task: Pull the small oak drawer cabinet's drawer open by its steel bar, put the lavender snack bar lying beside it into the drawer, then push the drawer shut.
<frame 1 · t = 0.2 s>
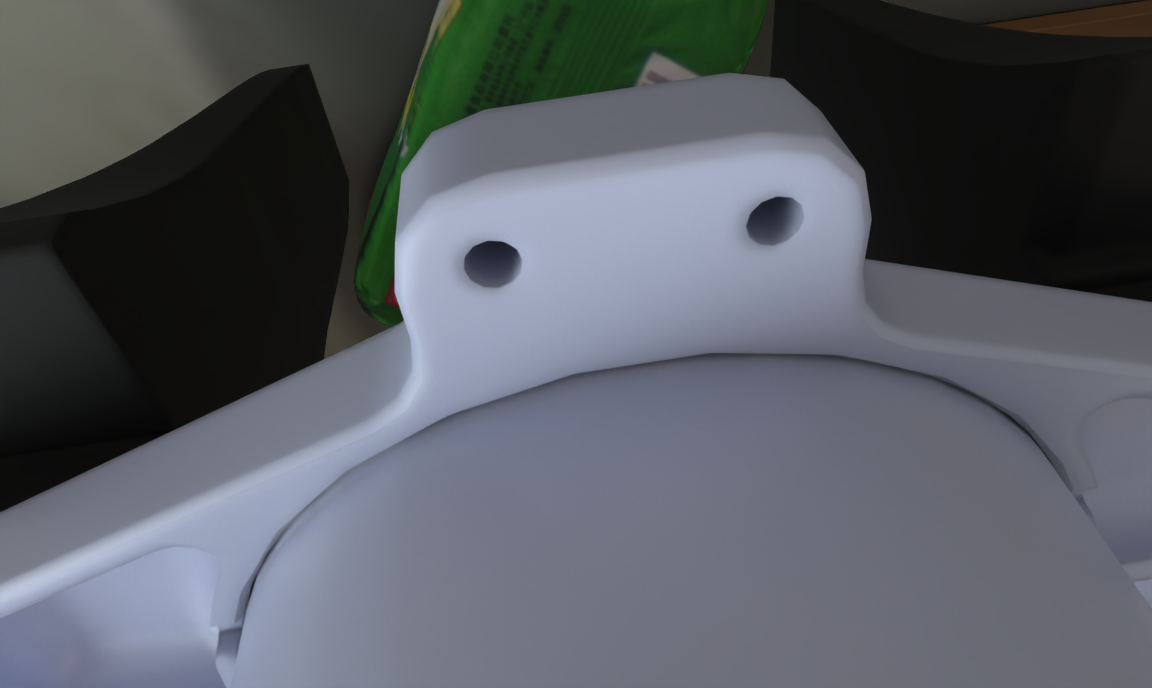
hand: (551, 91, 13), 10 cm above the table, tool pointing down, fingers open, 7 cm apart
snack package: (530, 84, 23), on the table
cabinet: (978, 237, 29), on the table
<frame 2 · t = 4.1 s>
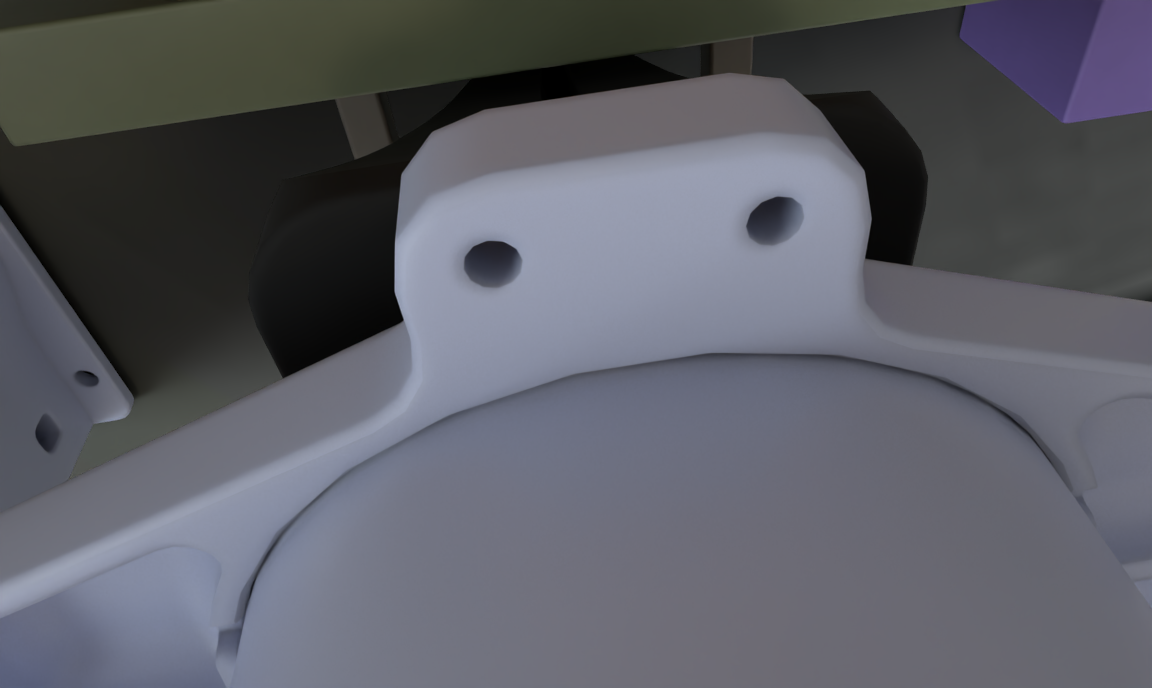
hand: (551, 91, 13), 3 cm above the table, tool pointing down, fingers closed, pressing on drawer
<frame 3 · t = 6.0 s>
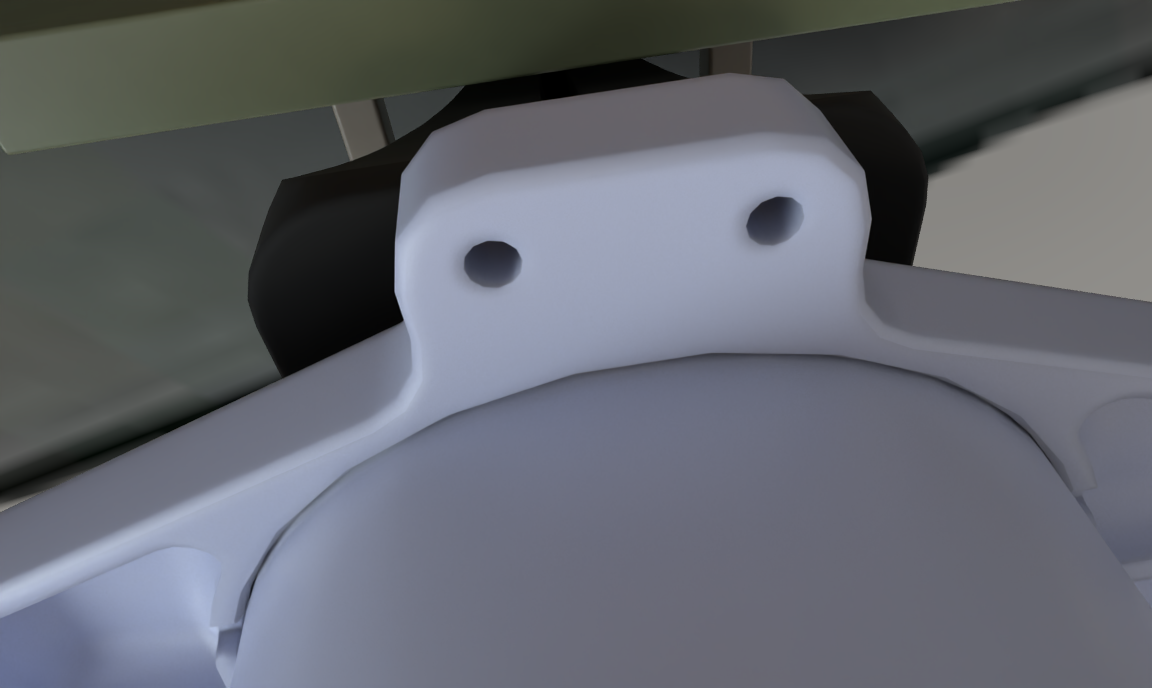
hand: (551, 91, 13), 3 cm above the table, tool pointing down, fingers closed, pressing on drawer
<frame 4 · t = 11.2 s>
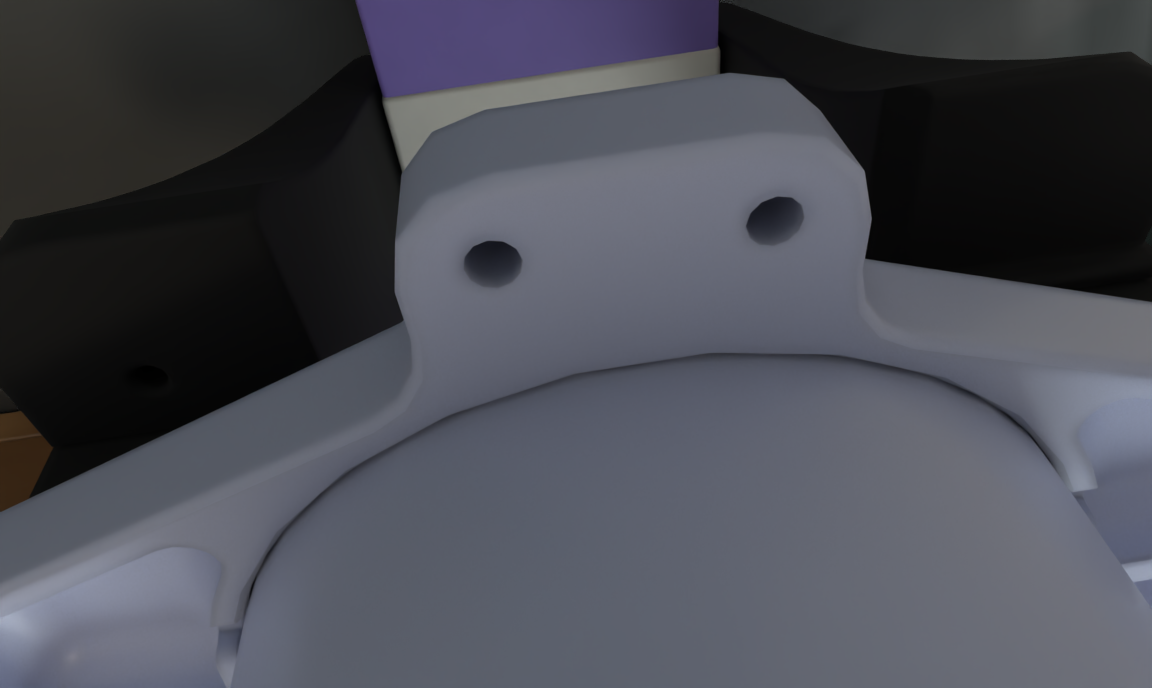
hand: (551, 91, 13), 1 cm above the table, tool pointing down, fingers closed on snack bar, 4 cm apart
cabinet: (171, 563, 22), on the table
snack bar: (541, 56, 14), on the table, touching gripper
when the fingers open (3 cm above the table, at t = 16.1 s): snack bar stays where it is, resting on drawer.
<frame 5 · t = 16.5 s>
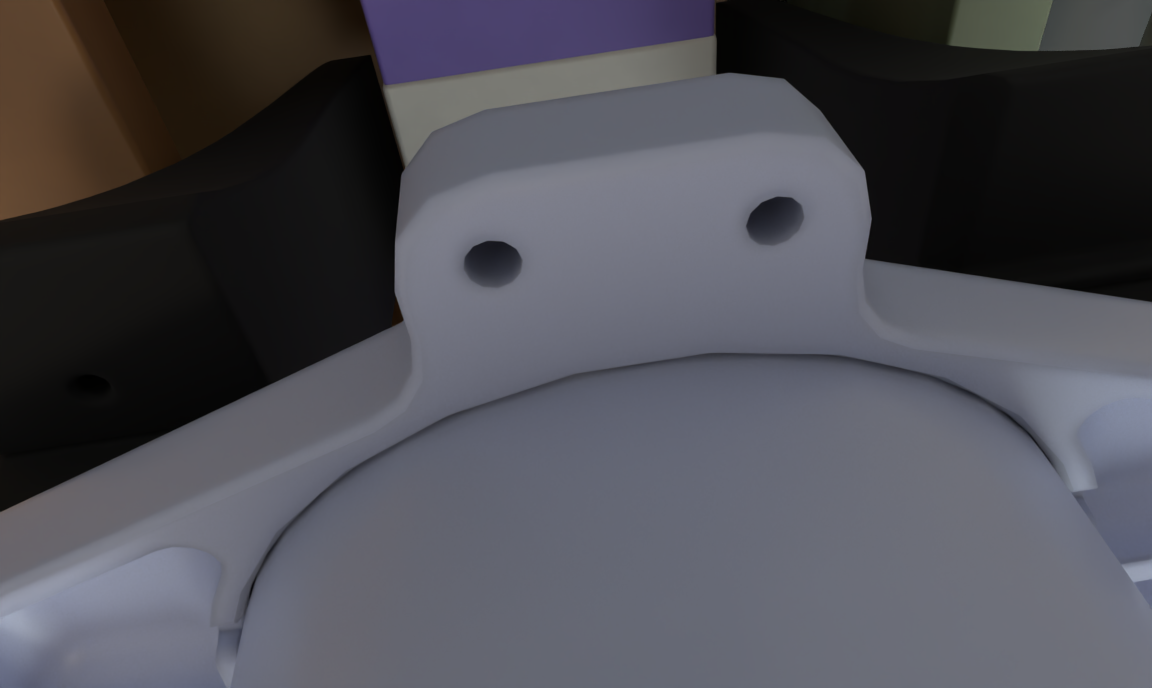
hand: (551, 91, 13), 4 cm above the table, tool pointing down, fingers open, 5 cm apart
drawer: (607, 85, 12), point 4 cm above the table, slide at 9.0 cm, touching snack bar
snack bar: (540, 47, 14), point 2 cm above the table, touching drawer
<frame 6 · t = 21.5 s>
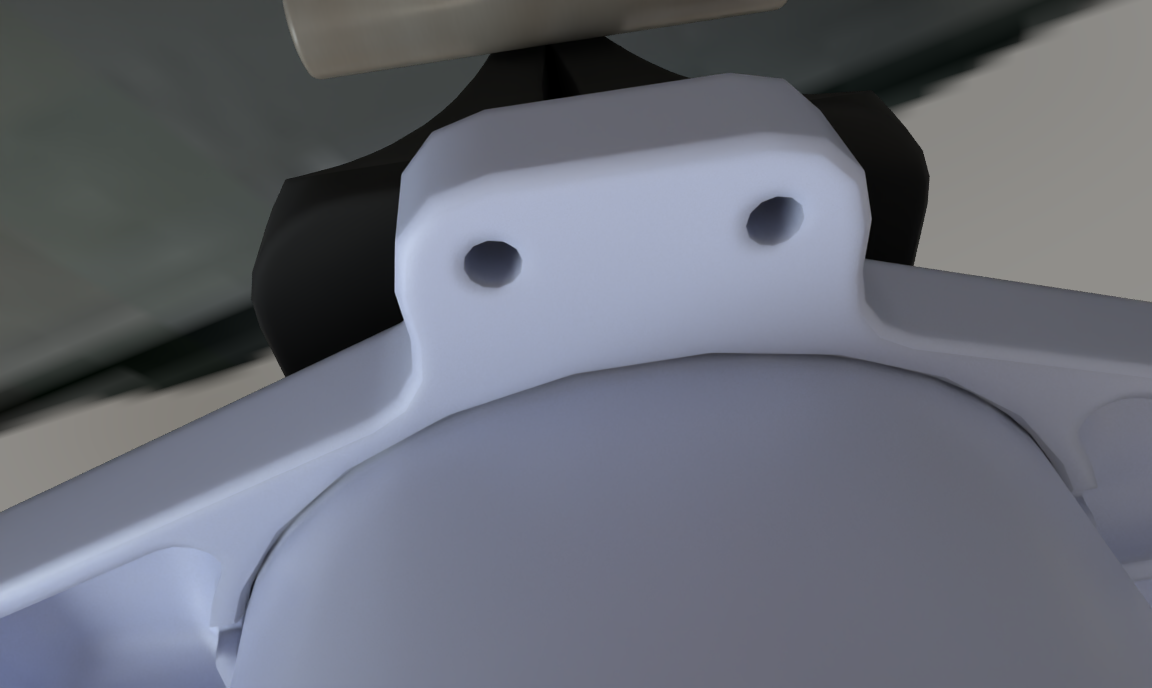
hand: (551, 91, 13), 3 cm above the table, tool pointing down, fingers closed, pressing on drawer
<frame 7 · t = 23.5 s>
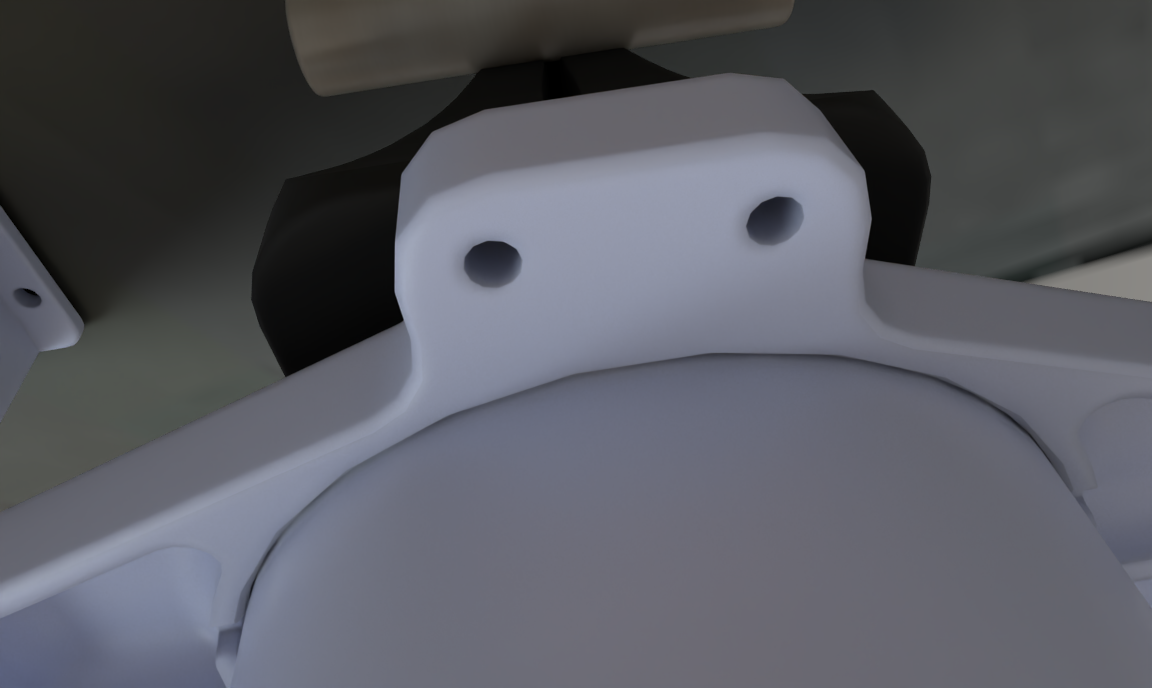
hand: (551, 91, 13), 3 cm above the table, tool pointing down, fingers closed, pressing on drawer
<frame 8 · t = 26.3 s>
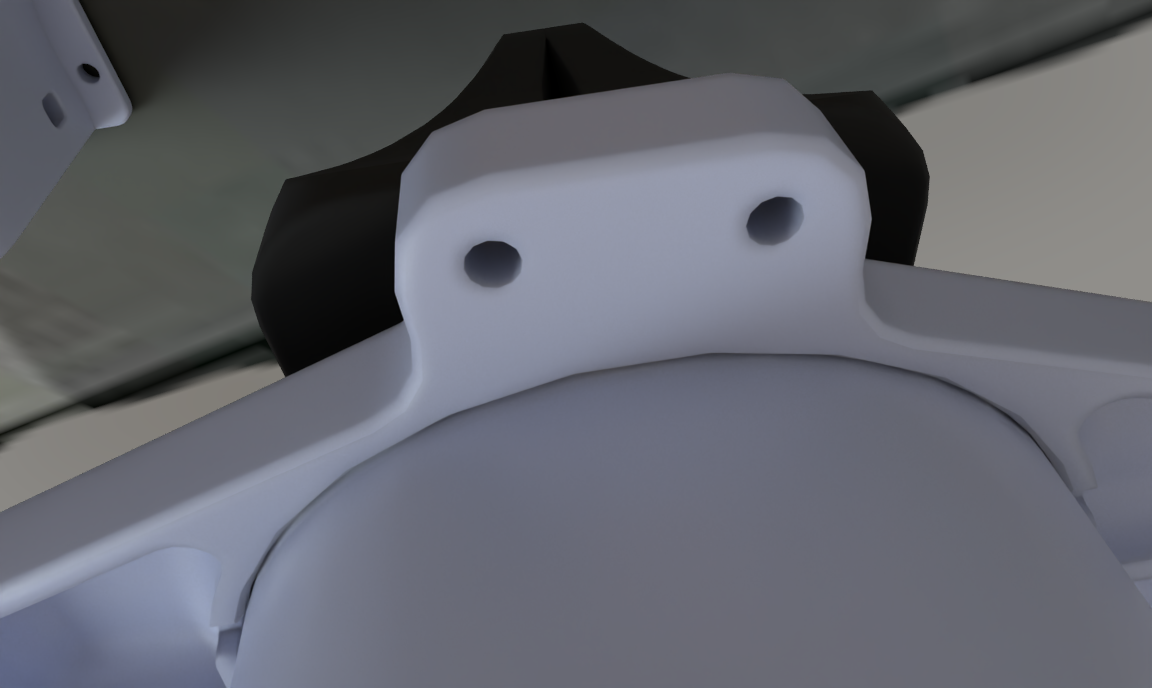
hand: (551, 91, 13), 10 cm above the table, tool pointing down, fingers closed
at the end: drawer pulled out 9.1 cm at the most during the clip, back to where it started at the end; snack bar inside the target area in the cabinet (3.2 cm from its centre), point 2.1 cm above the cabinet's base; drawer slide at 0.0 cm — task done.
